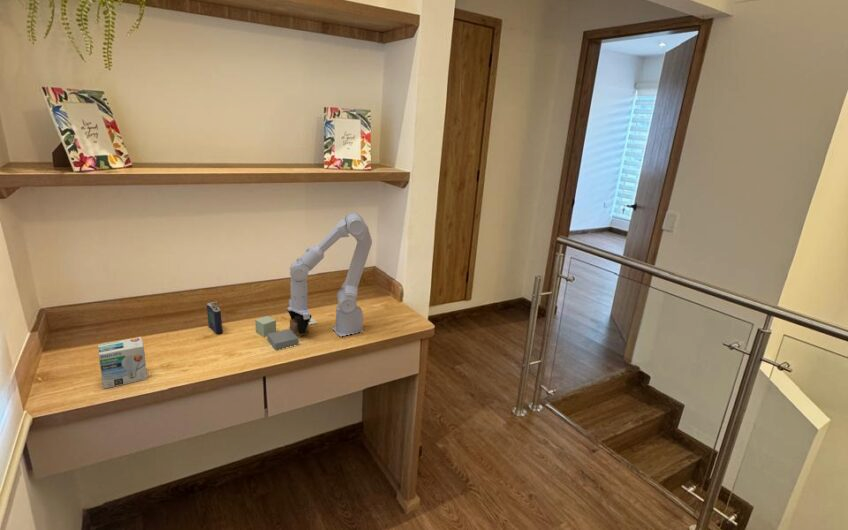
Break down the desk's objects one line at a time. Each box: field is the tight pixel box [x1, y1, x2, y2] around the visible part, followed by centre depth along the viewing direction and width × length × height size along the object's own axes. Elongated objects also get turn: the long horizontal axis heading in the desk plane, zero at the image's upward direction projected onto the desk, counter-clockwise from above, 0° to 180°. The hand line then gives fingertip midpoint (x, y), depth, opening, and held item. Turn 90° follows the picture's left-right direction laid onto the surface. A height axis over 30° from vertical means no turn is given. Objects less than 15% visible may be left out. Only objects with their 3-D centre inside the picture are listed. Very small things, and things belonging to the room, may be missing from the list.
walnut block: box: [289, 318, 310, 338], centre depth 162 cm, size 5×5×5 cm
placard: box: [309, 317, 318, 326], centre depth 172 cm, size 7×7×1 cm
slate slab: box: [266, 328, 300, 351], centre depth 156 cm, size 8×8×3 cm
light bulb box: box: [97, 336, 148, 390], centre depth 128 cm, size 11×7×11 cm, turn 126°
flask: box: [206, 301, 224, 336], centre depth 159 cm, size 9×3×11 cm, turn 43°
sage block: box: [254, 315, 277, 338], centre depth 161 cm, size 5×5×5 cm
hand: (299, 329), depth 163 cm, fingers closed on walnut block, 5 cm apart
